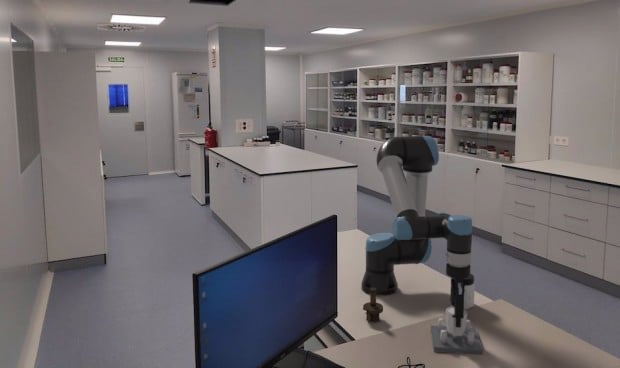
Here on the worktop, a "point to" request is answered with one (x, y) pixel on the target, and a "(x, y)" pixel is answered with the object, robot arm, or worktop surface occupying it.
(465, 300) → the jar
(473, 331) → the pin plate
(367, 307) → the industrial component
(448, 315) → the shot glass
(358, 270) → the worktop surface
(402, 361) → the worktop surface
